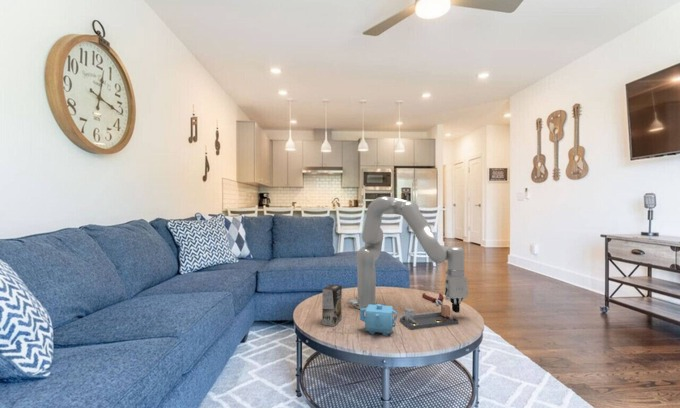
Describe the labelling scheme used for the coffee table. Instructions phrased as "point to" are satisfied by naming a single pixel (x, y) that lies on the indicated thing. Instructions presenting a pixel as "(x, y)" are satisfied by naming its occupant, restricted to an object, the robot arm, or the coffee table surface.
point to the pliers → (434, 299)
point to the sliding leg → (445, 311)
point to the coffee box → (332, 305)
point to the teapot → (378, 318)
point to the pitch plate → (425, 320)
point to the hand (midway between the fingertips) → (455, 311)
